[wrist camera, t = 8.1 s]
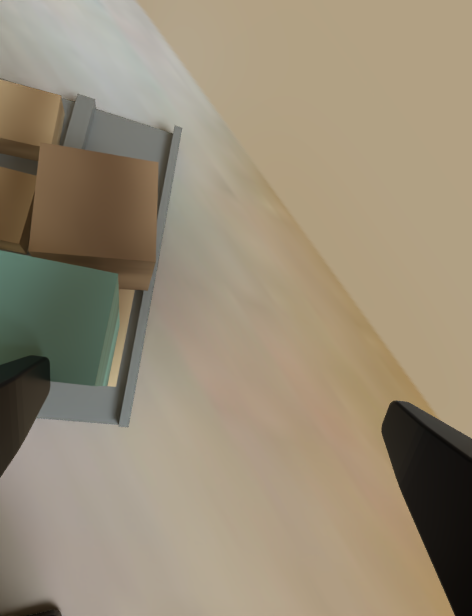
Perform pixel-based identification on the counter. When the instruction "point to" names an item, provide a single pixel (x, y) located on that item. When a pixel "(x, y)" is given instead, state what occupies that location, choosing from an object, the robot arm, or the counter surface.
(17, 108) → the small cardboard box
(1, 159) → the lane tray
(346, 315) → the counter surface
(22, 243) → the tan square block
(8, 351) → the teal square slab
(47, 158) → the cube
